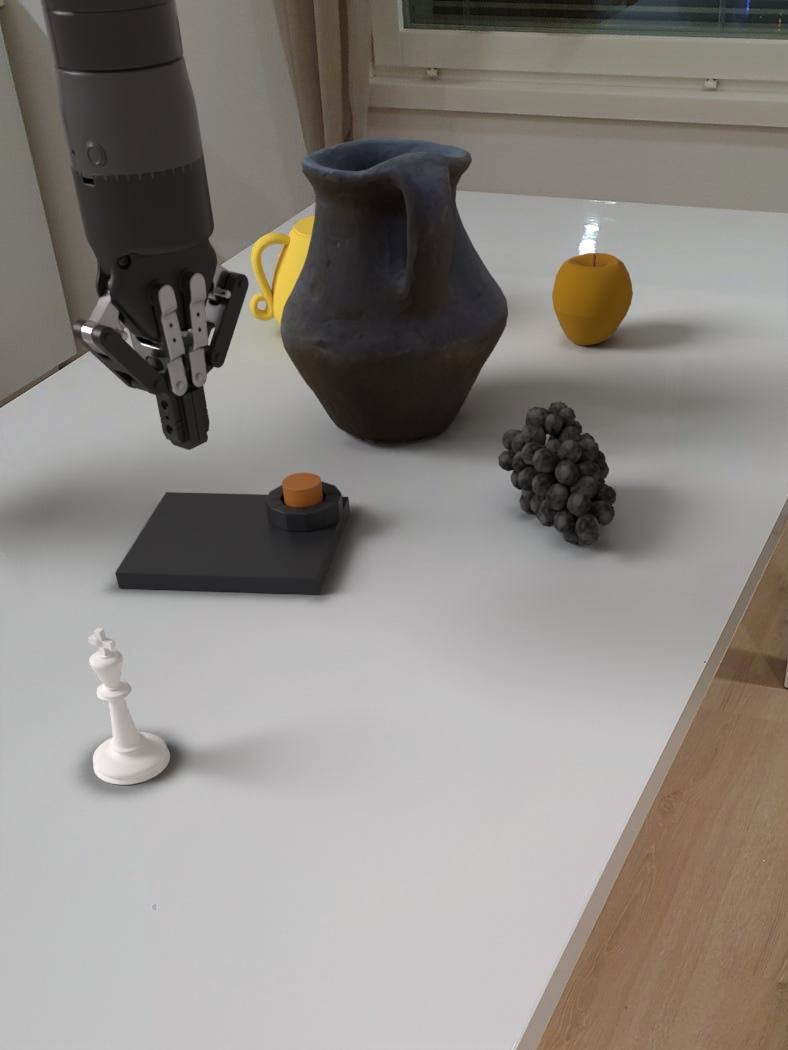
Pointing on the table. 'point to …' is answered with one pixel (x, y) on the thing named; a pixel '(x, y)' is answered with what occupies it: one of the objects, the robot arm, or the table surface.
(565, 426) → the fruit
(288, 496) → the button
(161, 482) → the table surface
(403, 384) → the pitcher
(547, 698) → the table surface
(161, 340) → the robot arm
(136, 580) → the scale
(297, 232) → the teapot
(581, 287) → the apple
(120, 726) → the chess piece
